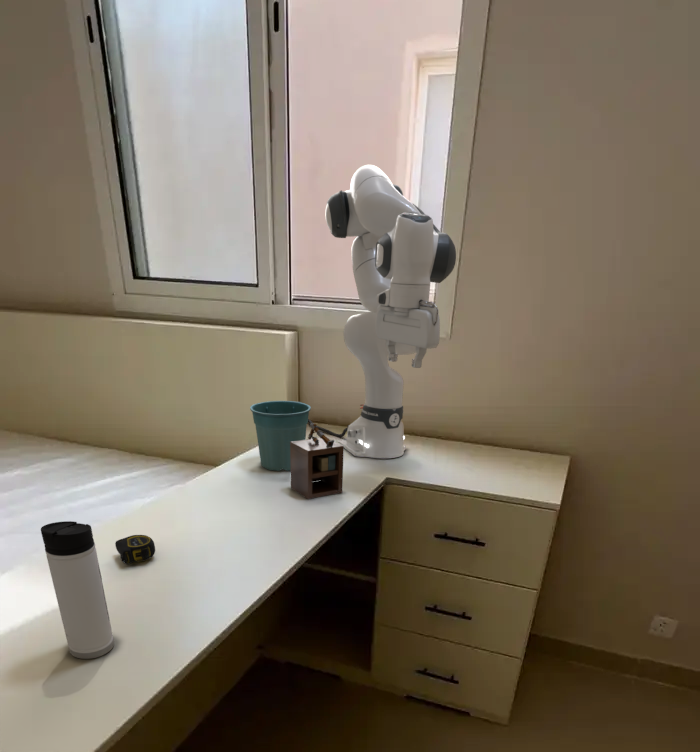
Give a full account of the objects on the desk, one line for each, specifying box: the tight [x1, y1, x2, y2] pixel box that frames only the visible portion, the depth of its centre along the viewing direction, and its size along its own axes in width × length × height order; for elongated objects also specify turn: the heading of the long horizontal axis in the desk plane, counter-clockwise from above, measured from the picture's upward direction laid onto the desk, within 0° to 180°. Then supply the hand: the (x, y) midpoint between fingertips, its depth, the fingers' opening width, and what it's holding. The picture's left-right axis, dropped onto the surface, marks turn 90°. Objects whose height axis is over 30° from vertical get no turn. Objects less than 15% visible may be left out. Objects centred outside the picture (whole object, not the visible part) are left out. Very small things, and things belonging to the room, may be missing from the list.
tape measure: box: [114, 534, 156, 565], centre depth 116 cm, size 7×7×4 cm
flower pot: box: [249, 400, 312, 472], centre depth 167 cm, size 16×16×16 cm
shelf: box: [290, 437, 345, 500], centre depth 151 cm, size 9×10×12 cm
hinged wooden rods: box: [307, 422, 335, 448], centre depth 147 cm, size 2×8×4 cm, turn 45°
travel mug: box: [40, 520, 115, 660], centre depth 85 cm, size 6×7×20 cm
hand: (404, 364), depth 142 cm, fingers open, 8 cm apart
